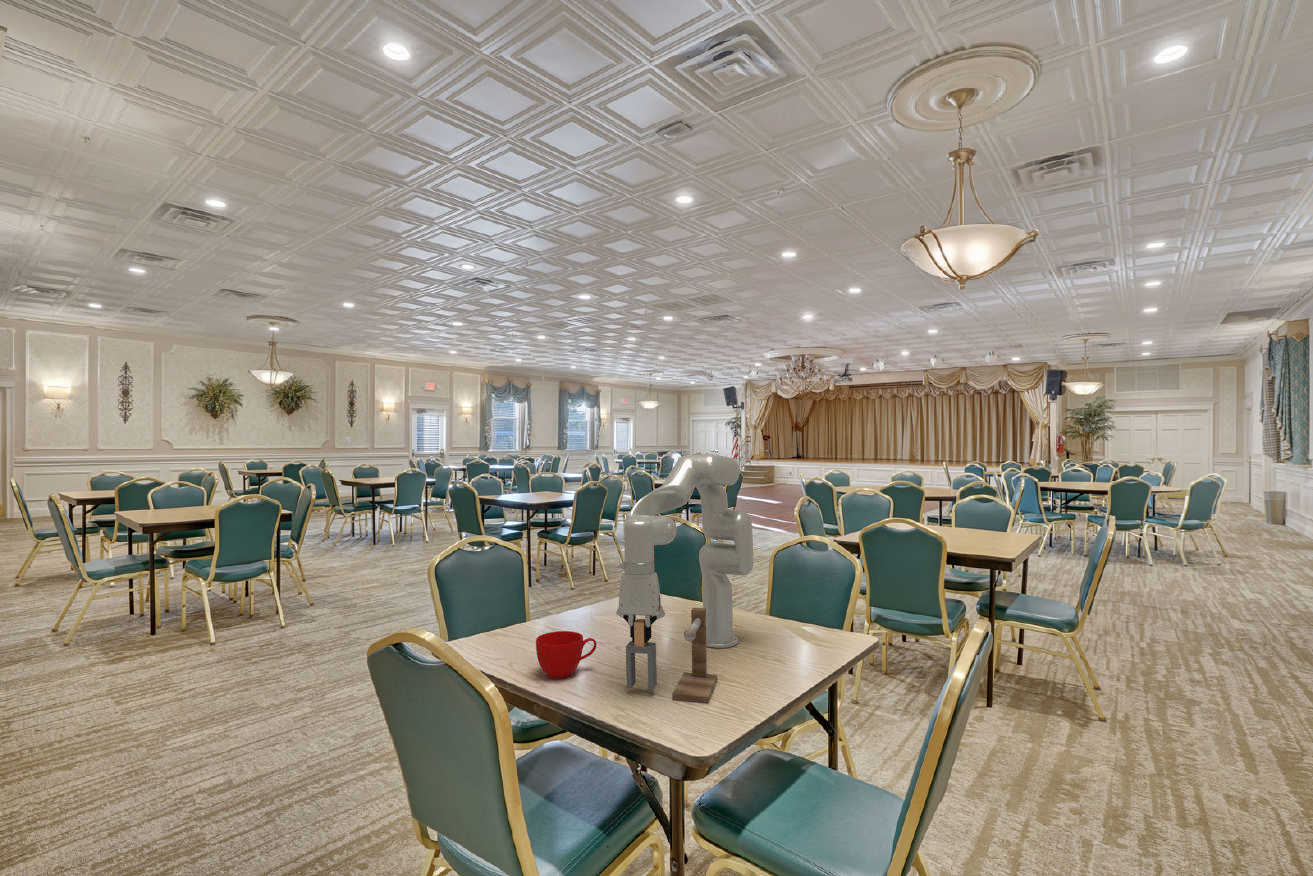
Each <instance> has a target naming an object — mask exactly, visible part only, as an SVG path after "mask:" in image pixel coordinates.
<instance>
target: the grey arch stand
mask: <svg viewBox="0 0 1313 876" xmlns="http://www.w3.org/2000/svg"><path fill="white" fill-rule="evenodd" d="M645 624H646V623H645V618H636V621H635V622H634V642H632V640H630V641H629V642H628V643H627V644H626V645H625V669H626V674H625V675H626V677H625V678H626V689H632V688H633V687H634V685H635V684H636V681H637V679H636V677H637V676H636V675H637V674H636V654H646V657H647V686H648V687H647V688H648V689H647V690H648V691H654V689H655V687H656V686H657V685H658V683H657V681H658V677H657V675H658V674H657V672H658V671H657V642H651V641H648V642H647V643H645V642H644V627H645Z"/></svg>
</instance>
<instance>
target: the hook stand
mask: <svg viewBox="0 0 1313 876" xmlns="http://www.w3.org/2000/svg"><path fill="white" fill-rule="evenodd" d="M690 612H691V615H690V617H691V618H690V619H691V625H690V626H689V628H688V627H687V628H686V629H685V630H684V631H683V638H684V639H685V640H686V641H688V642H691V671H692V672H688V671H684V672H683V673H682V675H681V677H680V679H679V681H678V683H677V684H676V686H675V688H674V690H673V692H672V694H671V700H672V701H677V702H690V703H699V704H701V703H702V704H709V703H710V700H711V699H712V695H713V694H714V690H715V687H716V686H717V683H718V674H714V673H708V671H707V669H708V668H707V666H708V662H707V657H708V655H707V653H708V652H707V646H706V608H703V607H692V608H691V611H690Z"/></svg>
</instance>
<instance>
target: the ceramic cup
mask: <svg viewBox="0 0 1313 876" xmlns="http://www.w3.org/2000/svg"><path fill="white" fill-rule="evenodd" d="M589 642H593V647H592V648H591V649H590V651H589V652H587V653H586V654H584V655H582V654H583V649H584V647H585V645H586V644H587V643H589ZM596 649H597V640H595V639H594V638H593V637H587V638H585V639H584V636H583V634H581V633H580V632H576V631H572V630H571V631H569V630H558V631H550V632H546V633H542V634H541V635H538V636H537V637H536V639H535V651H536V656H537V657H536V658H537V661H538V665H539V666H540V668H541V670H542V671H543V672H544V673H545V675H547V677H548V676H549V677H548V678H550V677H551V679H555V678H560V679H565V677H566V678H568V676H569V677H570V676H572V674H573V673H574V671H575V670H576V669H577V667H578V666H579V664H580V662H581V661H582V660H584V659H586V658H589V657H590V656H591V655H593V654H594V652H595V651H596Z"/></svg>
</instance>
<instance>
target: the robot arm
mask: <svg viewBox="0 0 1313 876" xmlns="http://www.w3.org/2000/svg"><path fill="white" fill-rule="evenodd" d="M740 470H741V469H740V466H739V463H738V462H737V460H736V459H735V458H733V457H728V456H724V455H720V454H714V453H713V454H712V453H705V454H703V453H700V454H699V453H698V454H697V453H695V454H685V455H683V456H680V457H679V458H678V459H677V460H676V462H675V464H674V466H673V467H672V469H671V470H670V473H669V474H668V475H667V477H666V479H665V481H664V482H663V484H662V485H661V486H659V487H657V488H655V489H654V490H652V491H650V492H649V493H647V494H645V496H642V498H640V499H639V500H638V501H637V502H636V503H635V504H634V505H633V506H632V508H631V510H630V511H629V513H628V514H627V517H626V520H625V521H624V524H623V525H624V526H623V540H624V541H623V542H624V543H623V544H624V547H623V549H624V562H622V563H621V562H620V563H619V565H618V567H619V569H622V570H623V573H621V575H620V583H619V590H618V591H619V593H618V594H619V595H618V607H617V610H616V611H615V614H616V615H617V616H619V617H621V618H623V619H624V620H625V621H626V623H627V625H628V626H629V634H630V635H629V636H630V638H631V641H632V642H634V622H635V621H636V620H637V616H644V619H645V623H646V624H645V627H644V642H645V643H647V642H650V640H651V639H652V625H653V624H654V623H655V622H656V621H657V620H660V619H661V618H664V617H665V616H666V613H665V611H664V608H663V606H662V604H661V603H662V601H661V600H662V598H661V591H660V590H661V589H660V588H661V587H660V583H659V576H658V574H657V572H655V546H658V545H659V546H664V545H665V546H666V545H668V544H670V543H671V542H673V541H674V539H675V538H676V536H677V533H678V532H677V531H678V529H677V527H678V526H677V524H676V522H675V521H674V520H673V519H672V518H671V517H669V516H665V515H659V514H663V513H666V512H668V511H672V510H675V509H679V508H681V507H683V506H684V505H686V504H687V503H688V502H689V500H690V498H691V496H692V494H693V492H694V490H695V488H696V489H697V492H698V494H699V496H700V503H701V505H700V506H701V508H700V509H701V526H702V532H703V536H705V537H706V538H707V539H712V540H720V541H733V542H734V543H725V542H724V543H721V542H707V543H705V544H704V545H702V547H701V548H700V550H699V554H698V560H699V567H700V571H701V580H702V583H701V584H702V585H701V586H702V608H706V648H715V649H716V648H717V649H724V648H731V647H734V646H736V645H738V643H739V639H738V637H737V636H736V635H734V625H733V623H734V622H733V621H734V618H733V616H734V615H733V586H732V583H731V580H730V579H729V577H728V575H733V576H747V575H749V574H751V572H752V570H753V567H754V539H753V537H754V535H753V524H752V520H751V517H750V515H749V514H748V513H747V512H746V511H744V510H743V511H742V510H739V509H738V510H735V509H729V505H728V504H729V502H728V493H727V491H726V489H725V487H724V486H734V485H735V484H736V483H737V481H738V480H739V478H740Z"/></svg>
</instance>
